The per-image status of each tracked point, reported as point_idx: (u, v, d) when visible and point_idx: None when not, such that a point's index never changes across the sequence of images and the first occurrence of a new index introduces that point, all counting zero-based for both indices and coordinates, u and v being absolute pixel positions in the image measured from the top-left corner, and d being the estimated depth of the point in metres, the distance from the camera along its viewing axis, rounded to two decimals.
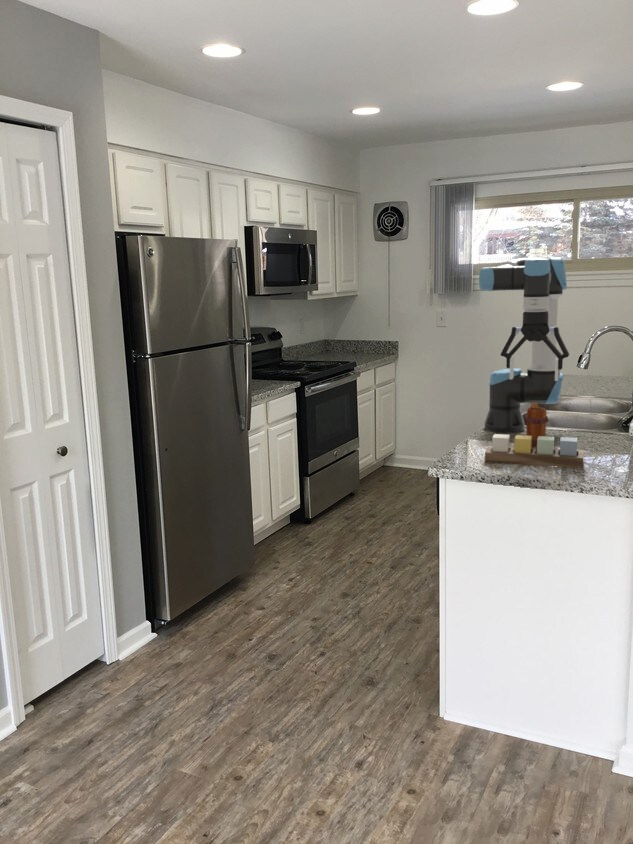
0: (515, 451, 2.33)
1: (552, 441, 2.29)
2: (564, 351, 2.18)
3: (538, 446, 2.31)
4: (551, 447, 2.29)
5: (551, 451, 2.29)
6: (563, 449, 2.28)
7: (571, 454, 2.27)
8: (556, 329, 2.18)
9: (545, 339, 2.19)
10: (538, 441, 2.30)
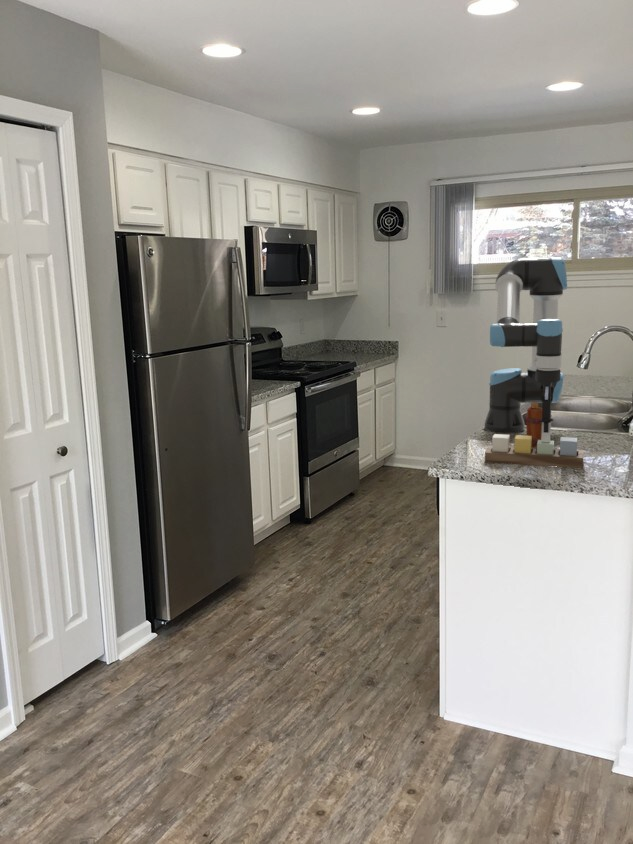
0: (515, 451, 2.33)
1: (552, 445, 2.29)
2: (542, 415, 2.27)
3: (538, 450, 2.31)
4: (550, 451, 2.30)
5: None
6: (563, 449, 2.28)
7: (571, 454, 2.27)
8: (542, 396, 2.24)
9: (541, 398, 2.28)
10: (538, 445, 2.30)
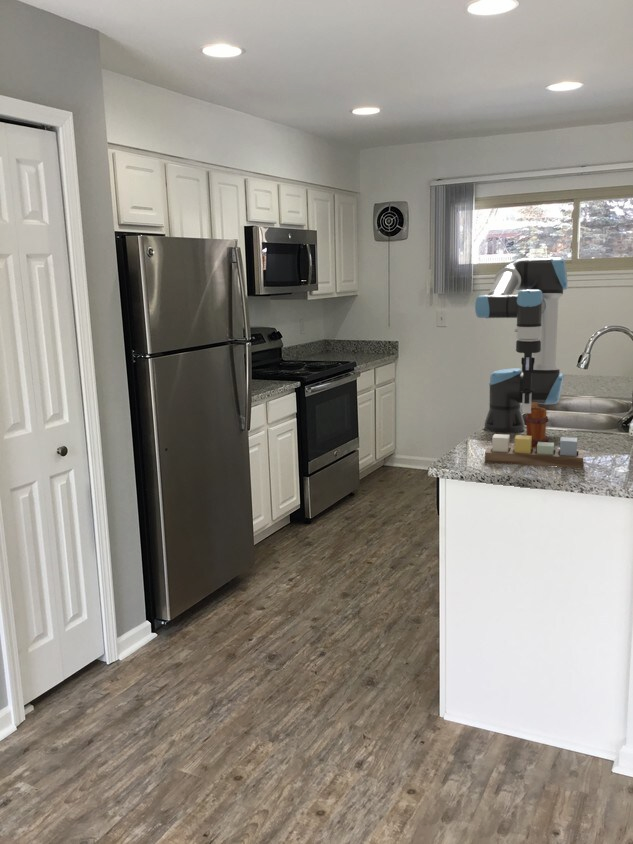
0: (515, 451, 2.33)
1: (552, 447, 2.29)
2: (523, 386, 2.27)
3: (538, 452, 2.31)
4: (550, 453, 2.30)
5: None
6: (563, 449, 2.28)
7: (571, 454, 2.27)
8: (523, 366, 2.24)
9: (522, 369, 2.28)
10: (538, 447, 2.31)
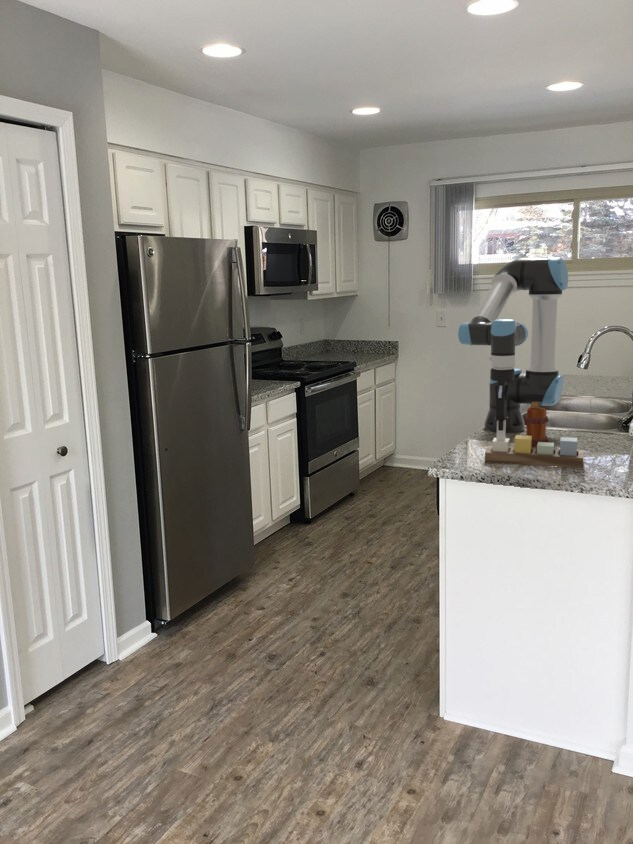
0: (515, 451, 2.33)
1: (552, 447, 2.29)
2: None
3: (538, 452, 2.31)
4: (550, 453, 2.30)
5: None
6: (563, 449, 2.28)
7: (571, 454, 2.27)
8: (496, 394, 2.28)
9: None
10: (538, 447, 2.31)
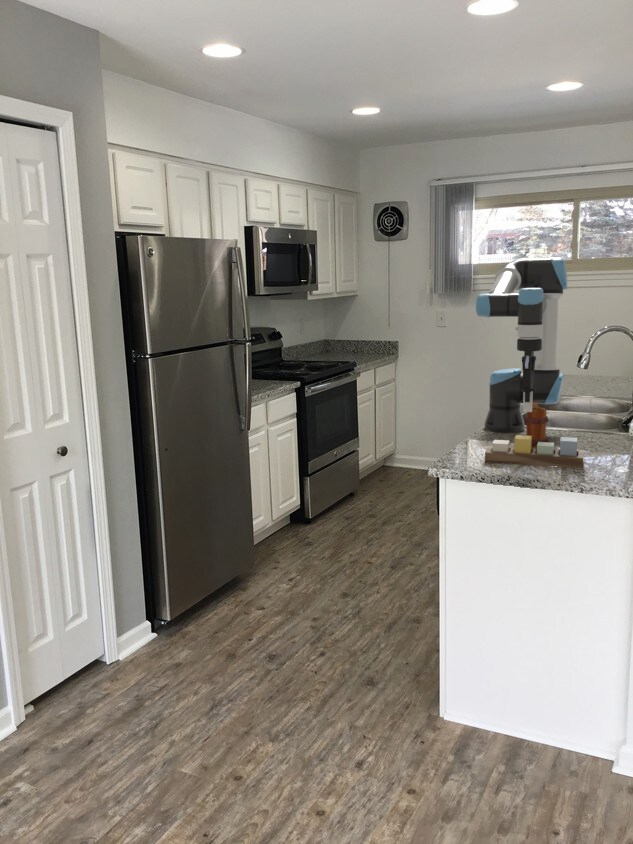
0: (515, 451, 2.33)
1: (552, 447, 2.29)
2: (523, 385, 2.27)
3: (538, 452, 2.31)
4: (550, 453, 2.30)
5: None
6: (563, 449, 2.28)
7: (571, 454, 2.27)
8: (522, 364, 2.23)
9: (522, 368, 2.28)
10: (538, 447, 2.31)
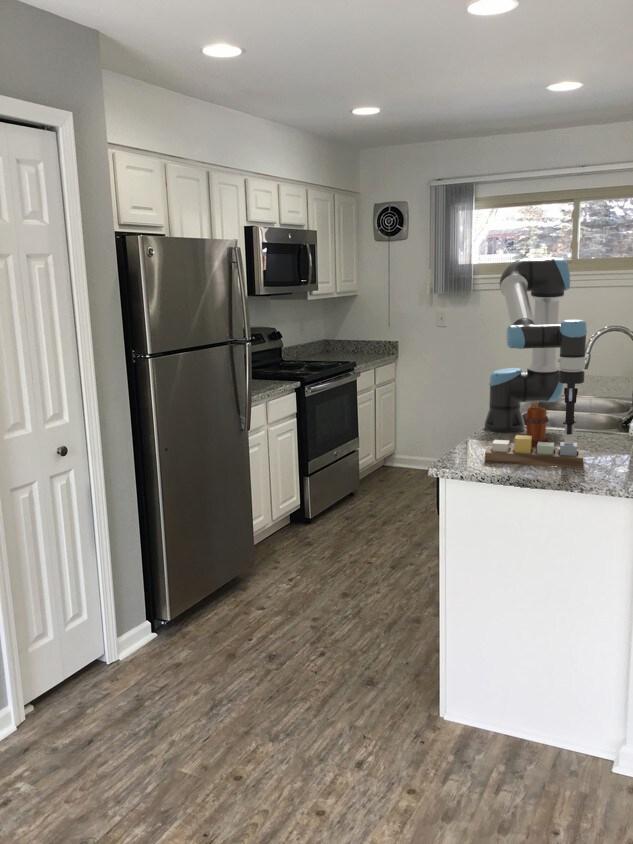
0: (515, 451, 2.33)
1: (552, 447, 2.29)
2: (565, 417, 2.25)
3: (538, 452, 2.31)
4: (550, 453, 2.30)
5: None
6: (563, 454, 2.28)
7: None
8: (566, 397, 2.21)
9: None
10: (538, 447, 2.31)
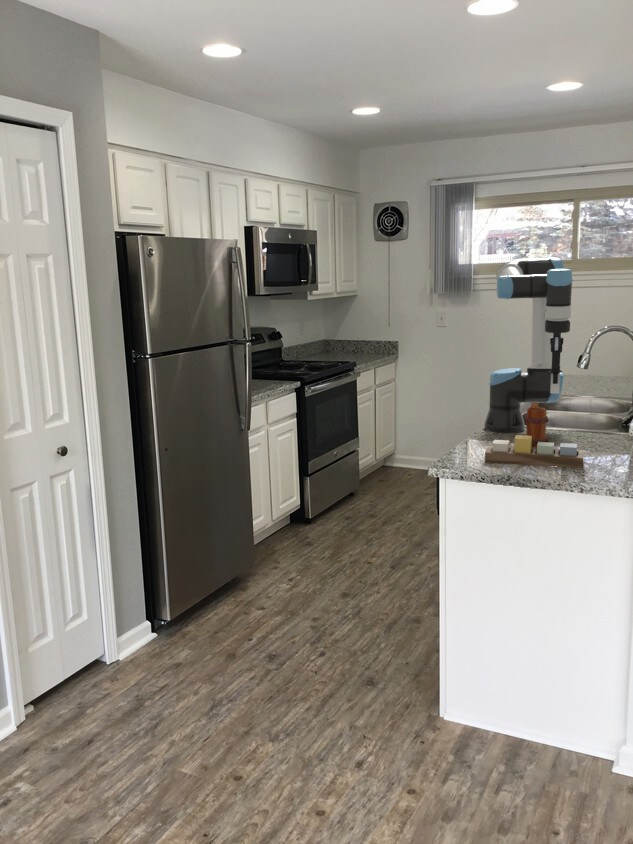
0: (515, 451, 2.33)
1: (552, 447, 2.29)
2: (551, 366, 2.27)
3: (538, 452, 2.31)
4: (550, 453, 2.30)
5: None
6: None
7: None
8: (552, 346, 2.23)
9: (550, 349, 2.27)
10: (538, 447, 2.31)
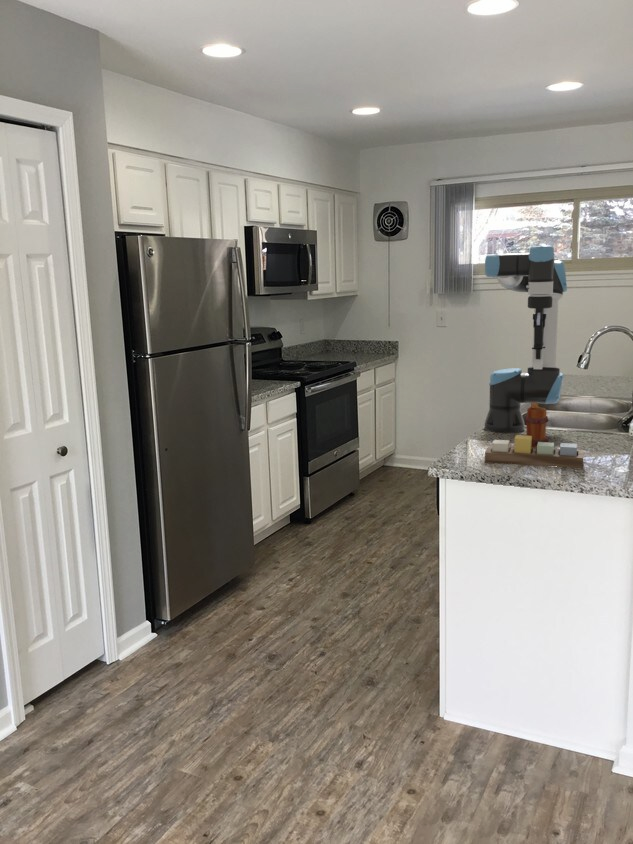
0: (515, 451, 2.33)
1: (552, 447, 2.29)
2: (534, 342, 2.30)
3: (538, 452, 2.31)
4: (550, 453, 2.30)
5: None
6: None
7: None
8: (534, 321, 2.26)
9: (533, 325, 2.31)
10: (538, 447, 2.31)
